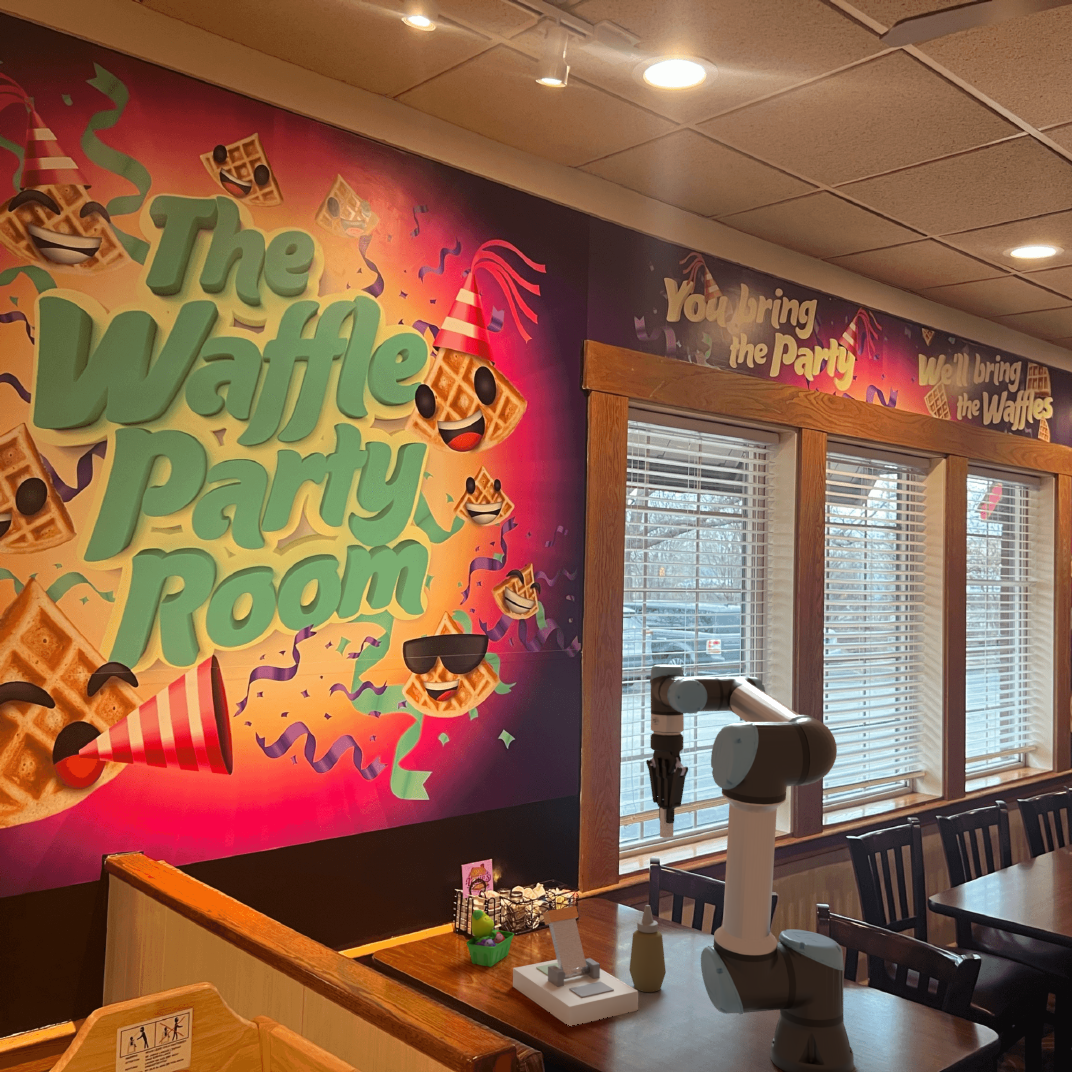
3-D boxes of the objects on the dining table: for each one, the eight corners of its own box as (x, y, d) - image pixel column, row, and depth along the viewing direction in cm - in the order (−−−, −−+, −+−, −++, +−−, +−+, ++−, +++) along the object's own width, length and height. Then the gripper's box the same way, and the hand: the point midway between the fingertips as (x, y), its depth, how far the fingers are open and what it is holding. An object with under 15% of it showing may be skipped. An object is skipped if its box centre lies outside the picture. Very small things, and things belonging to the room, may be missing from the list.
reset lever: (592, 972, 222) (576, 905, 228) (563, 978, 218) (548, 910, 225) (586, 975, 224) (570, 908, 230) (557, 981, 220) (542, 913, 227)
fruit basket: (493, 970, 237) (493, 920, 238) (460, 963, 241) (460, 915, 242) (515, 954, 247) (515, 907, 248) (483, 948, 251) (483, 902, 252)
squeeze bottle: (664, 996, 222) (664, 912, 223) (627, 993, 224) (627, 910, 225) (666, 982, 230) (667, 901, 231) (631, 979, 232) (631, 899, 233)
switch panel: (638, 1010, 215) (638, 976, 215) (569, 1026, 206) (569, 991, 207) (577, 972, 236) (577, 942, 236) (512, 986, 227) (513, 954, 228)
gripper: (637, 730, 238) (636, 832, 236) (671, 737, 226) (671, 844, 225) (662, 728, 241) (662, 829, 240) (697, 735, 230) (697, 840, 229)
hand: (666, 836), depth 233 cm, fingers closed
